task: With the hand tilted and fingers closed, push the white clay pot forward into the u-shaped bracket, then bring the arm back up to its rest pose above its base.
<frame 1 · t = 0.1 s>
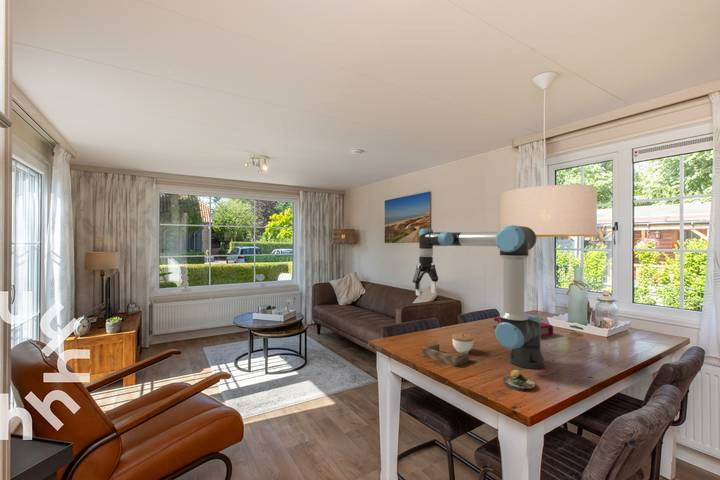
hand: (425, 294, 184), 28 cm above the table, tool pointing down, fingers open, 13 cm apart
u-shaped bracket: (443, 358, 161), on the table
book: (521, 332, 211), on the table
plate of food: (519, 386, 132), on the table
lidded jar: (462, 351, 172), on the table
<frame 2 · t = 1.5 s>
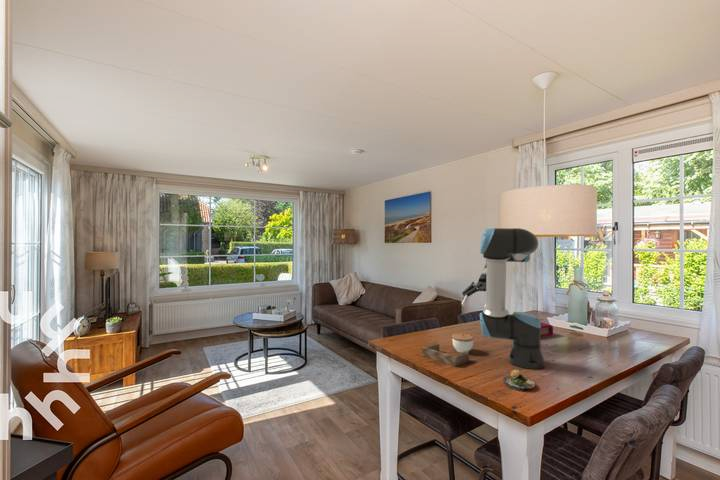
hand: (473, 307, 180), 22 cm above the table, tool tilted 45°, fingers open, 12 cm apart
nothing on the table moved.
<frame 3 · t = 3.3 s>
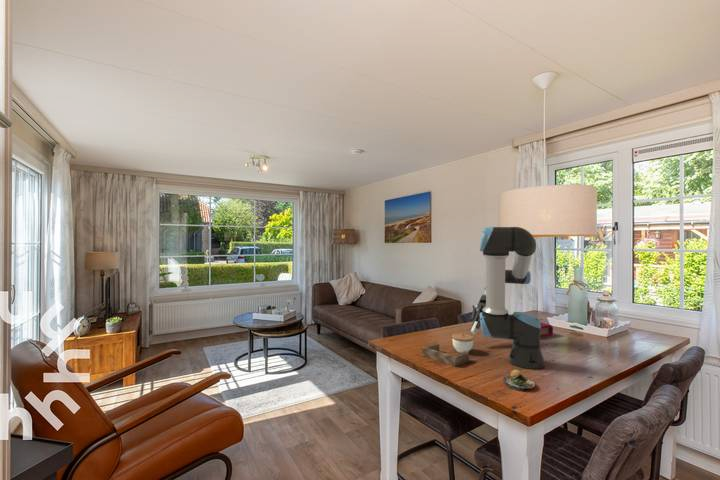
hand: (472, 332, 180), 8 cm above the table, tool tilted 45°, fingers closed
nothing on the table moved.
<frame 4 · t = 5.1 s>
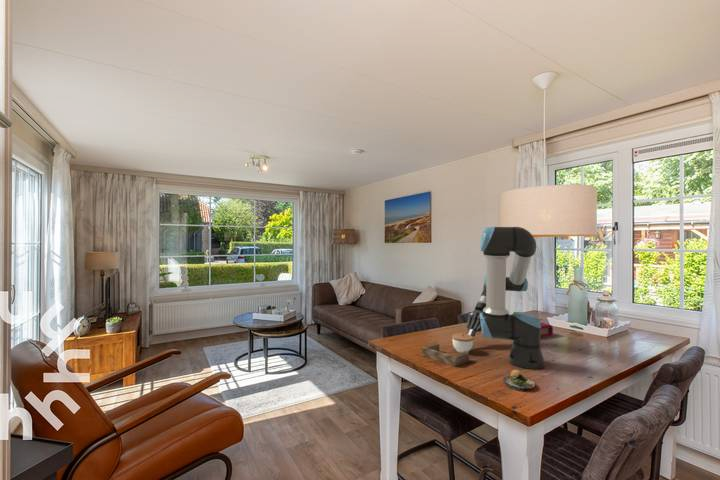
hand: (467, 340, 177), 4 cm above the table, tool tilted 45°, fingers closed
lidded jar: (462, 351, 172), on the table, touching gripper
everything else where it was.
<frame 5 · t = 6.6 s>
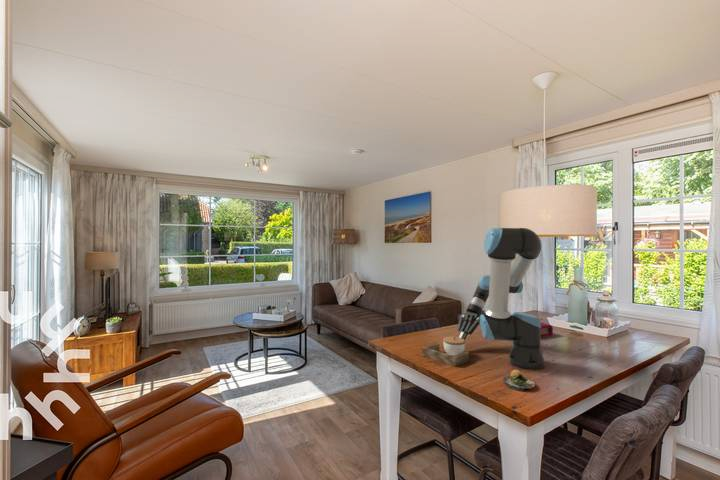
hand: (458, 343, 172), 4 cm above the table, tool tilted 45°, fingers closed
lidded jar: (454, 355, 166), on the table, touching gripper
everything else where it was.
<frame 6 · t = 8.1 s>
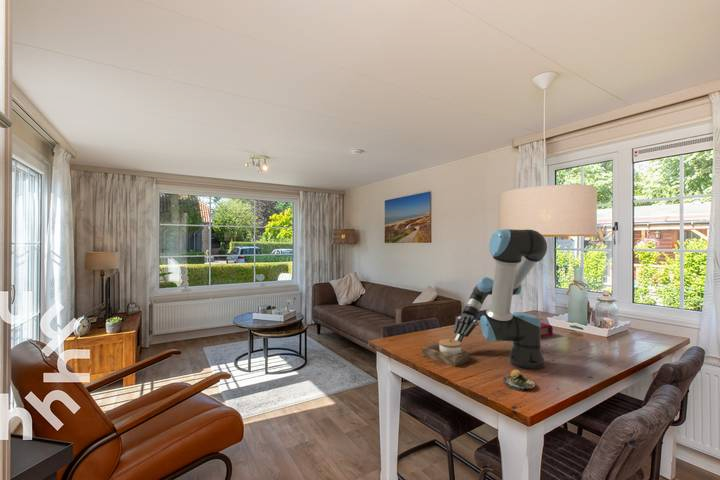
hand: (454, 346, 168), 4 cm above the table, tool tilted 45°, fingers closed
lidded jar: (450, 358, 162), on the table, touching gripper
everything else where it was.
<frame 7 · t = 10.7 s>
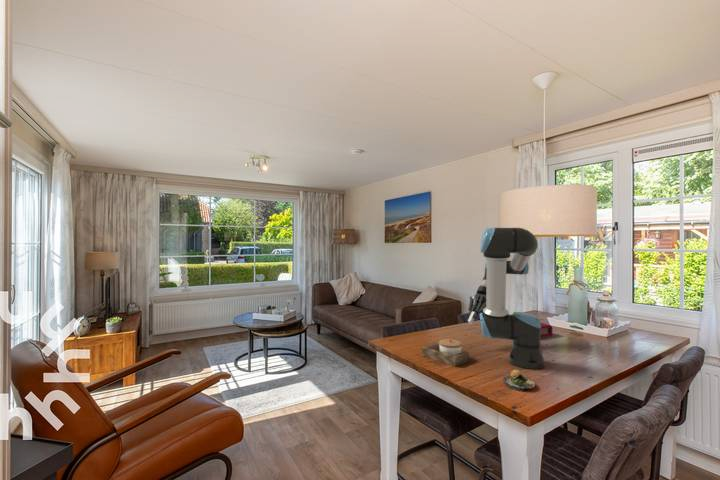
hand: (469, 322, 178), 14 cm above the table, tool tilted 45°, fingers closed
lidded jar: (450, 358, 162), on the table
everything else where it was.
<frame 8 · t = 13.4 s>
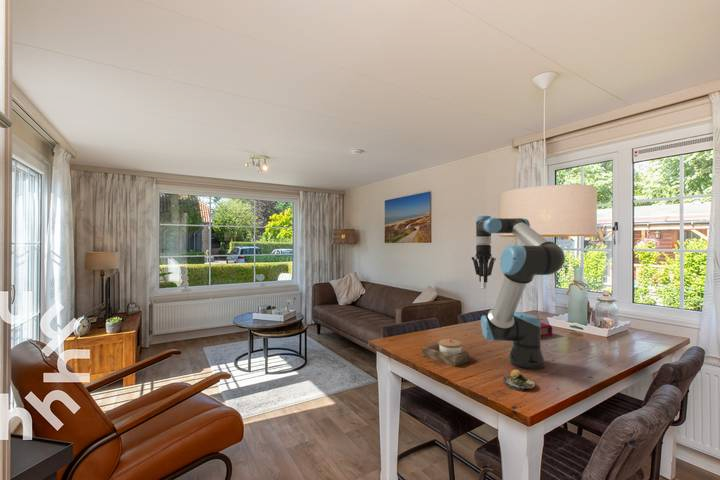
hand: (483, 288, 176), 32 cm above the table, tool pointing down, fingers closed
nothing on the table moved.
at the end: lidded jar inside the target area (1.5 cm from its centre), on the table; lidded jar tilted 0°; lidded jar moved 13.8 cm from its start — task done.
